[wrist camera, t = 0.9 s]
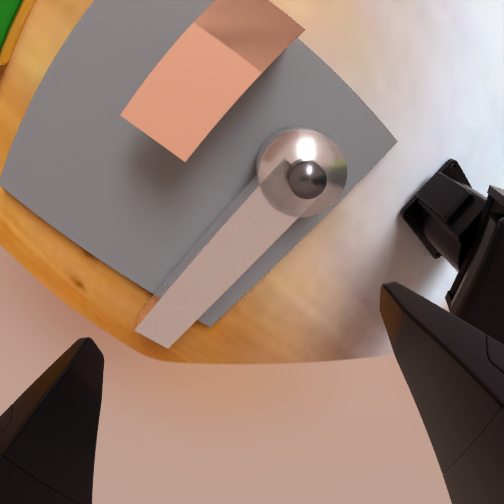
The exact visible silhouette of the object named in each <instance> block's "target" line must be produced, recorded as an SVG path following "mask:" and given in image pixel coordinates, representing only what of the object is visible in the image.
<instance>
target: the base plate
mask: <svg viewBox="0 0 504 504" xmlns="http://www.w3.org/2000/svg"><path fill="white" fill-rule="evenodd" d="M214 1H215V0H94V2H93V3H92V4H91V5H90V7H89V8H88V9H87V11H86V12H85V13H84V15H83V16H82V17H81V19H80V20H79V22H78V23H77V24H76V26H75V27H74V29H73V30H72V32H71V33H70V35H69V36H68V38H67V39H66V41H65V42H64V44H63V45H62V47H61V48H60V50H59V52H58V53H57V55H56V56H55V58H54V60H53V61H52V63H51V65H50V67H49V68H48V70H47V72H46V74H45V75H44V77H43V79H42V81H41V83H40V85H39V87H38V88H37V90H36V92H35V94H34V96H33V98H32V100H31V102H30V104H29V107H28V109H27V111H26V113H25V115H24V117H23V120H22V122H21V124H20V126H19V129H18V131H17V133H16V136H15V138H14V141H13V143H12V146H11V149H10V151H9V154H8V157H7V159H6V162H5V165H4V168H3V171H2V174H1V177H0V186H1V187H2V188H3V189H5V190H6V191H7V192H8V193H10V194H11V195H12V196H13V197H15V198H16V199H17V200H18V201H20V202H21V203H22V204H23V205H25V206H26V207H27V208H29V209H30V210H31V211H32V212H34V213H35V214H36V215H38V216H39V217H40V218H42V219H43V220H44V221H46V222H47V223H48V224H50V225H51V226H52V227H54V228H55V229H57V230H58V231H59V232H61V233H62V234H63V235H65V236H66V237H68V238H69V239H70V240H72V241H73V242H75V243H76V244H77V245H79V246H80V247H82V248H83V249H85V250H86V251H88V252H89V253H90V254H92V255H93V256H95V257H96V258H98V259H99V260H101V261H102V262H104V263H105V264H107V265H108V266H110V267H111V268H113V269H114V270H116V271H117V272H119V273H120V274H122V275H124V276H125V277H127V278H128V279H130V280H131V281H133V282H135V283H136V284H138V285H139V286H141V287H142V288H144V289H146V290H147V291H149V292H151V293H152V294H154V293H155V292H156V291H157V290H158V289H159V287H160V286H161V285H162V284H163V282H164V281H165V280H166V279H167V277H168V276H169V275H170V274H171V273H172V271H173V270H174V269H175V268H176V267H177V265H178V264H179V263H180V262H181V260H182V259H183V258H184V257H185V256H186V254H187V253H188V252H189V251H190V250H191V249H192V247H193V246H194V245H195V244H196V243H197V241H198V240H199V239H200V238H201V237H202V236H203V234H204V233H205V232H206V231H207V230H208V229H209V227H210V226H211V225H212V224H213V223H214V222H215V220H216V219H217V218H218V217H219V216H220V215H221V213H222V212H223V211H224V210H225V209H226V208H227V207H228V205H229V204H230V203H231V202H232V201H233V200H234V199H235V197H236V196H237V195H238V194H239V193H240V192H241V191H242V190H243V188H244V187H245V186H246V185H247V184H248V183H249V182H250V181H251V180H252V178H253V177H254V176H255V175H256V158H257V154H258V151H259V149H260V147H261V145H262V144H263V142H264V141H265V140H266V139H267V138H268V137H269V136H270V135H271V134H273V133H274V132H276V131H278V130H279V129H282V128H285V127H289V126H305V127H309V128H312V129H314V130H316V131H318V132H319V133H321V134H323V135H324V136H326V137H327V138H329V139H330V140H332V141H333V142H334V143H335V144H336V145H337V146H338V147H339V149H340V150H341V152H342V153H343V156H344V158H345V161H346V165H347V180H346V184H345V187H344V190H343V192H342V194H341V195H340V197H339V198H338V200H337V201H336V202H335V203H334V204H333V205H332V206H331V207H330V208H328V209H327V210H325V211H323V212H322V213H319V214H317V215H314V216H310V217H298V218H297V220H296V221H295V222H294V223H293V224H292V225H291V226H290V227H289V228H288V229H287V230H286V231H285V232H284V233H283V234H282V235H281V236H280V237H279V238H278V239H277V240H276V241H275V242H274V243H273V244H272V245H271V246H270V247H269V248H268V249H267V250H266V251H265V252H264V253H263V254H262V255H261V256H260V257H259V258H258V259H257V260H256V261H255V262H254V263H253V264H252V265H251V266H250V267H249V268H248V269H247V270H246V271H245V272H244V273H243V274H242V275H241V276H240V277H239V278H238V279H237V280H236V281H235V282H234V283H233V284H232V285H231V286H230V287H229V288H228V289H227V290H226V291H225V292H224V293H223V294H222V295H221V296H220V297H219V298H218V299H217V300H216V301H215V302H214V303H213V304H212V305H211V306H210V307H209V308H208V309H207V310H206V311H205V312H204V313H203V314H202V315H201V316H200V317H199V318H198V319H197V320H198V321H200V322H201V323H203V324H205V325H207V326H209V327H211V326H212V325H213V324H214V323H215V322H217V321H218V320H219V319H220V318H221V317H222V316H223V315H224V314H225V313H226V312H227V311H228V310H229V309H230V308H231V307H232V306H233V305H234V304H235V303H237V302H238V301H239V300H240V299H241V298H242V297H243V296H244V295H245V294H246V293H247V292H248V291H249V290H250V289H251V288H252V287H253V286H254V285H255V284H256V283H257V282H258V281H259V280H260V279H261V278H263V277H264V276H265V275H266V274H267V273H268V272H269V271H270V270H271V269H272V268H273V267H274V266H275V265H276V264H277V263H278V262H279V261H280V260H281V259H282V258H283V257H284V256H285V255H286V254H287V253H288V252H289V251H290V250H291V249H292V248H293V247H294V246H295V245H296V244H297V243H298V242H299V241H300V240H301V239H302V238H303V237H304V236H305V235H306V234H307V233H308V232H309V231H310V230H311V229H312V228H313V227H314V226H315V225H316V224H317V223H318V222H319V221H320V220H321V219H322V218H323V217H324V216H325V215H326V214H327V213H328V212H329V211H330V210H331V209H332V208H333V207H334V206H335V205H336V204H337V203H338V202H339V201H340V200H341V199H342V198H343V197H344V196H345V195H346V194H347V193H348V192H349V191H350V190H351V189H352V188H353V187H354V186H355V185H356V184H357V183H358V182H359V181H360V180H361V179H362V178H363V177H364V176H365V175H366V174H367V173H368V172H369V171H370V170H371V169H372V168H373V167H374V166H375V165H376V164H377V163H378V162H379V161H380V159H381V158H382V157H383V156H384V155H385V154H386V153H387V152H388V151H389V150H390V149H391V148H392V147H393V146H394V145H395V144H396V143H397V142H398V141H397V140H396V139H395V138H394V137H393V135H392V134H391V133H390V132H389V130H388V129H387V128H386V127H385V126H384V124H383V123H382V122H381V121H380V120H379V119H378V117H377V116H376V115H375V114H374V113H373V112H372V111H371V110H370V108H369V107H368V106H367V105H366V104H365V103H364V102H363V101H362V100H361V99H360V97H359V96H358V95H357V94H356V93H355V92H354V91H353V90H352V89H351V88H350V87H349V86H348V85H347V84H346V83H345V82H344V81H343V80H342V79H341V78H340V77H339V76H338V75H337V74H336V73H335V72H334V71H333V70H332V69H331V68H330V67H329V66H328V65H327V64H326V63H325V62H324V61H323V60H322V59H320V58H319V57H318V56H317V55H316V54H315V53H314V52H313V51H312V50H311V49H309V48H308V47H307V46H306V45H305V44H304V43H303V42H302V41H300V40H299V39H298V38H296V39H295V40H294V41H293V42H292V43H291V44H290V45H289V46H288V47H287V48H286V49H285V50H284V51H283V52H282V53H281V54H280V55H279V56H278V57H277V58H276V59H275V60H274V61H273V62H272V63H271V64H270V65H269V66H268V67H267V68H266V69H265V70H264V71H263V73H262V74H261V75H260V76H259V77H258V78H257V79H256V80H255V81H254V82H253V83H252V84H251V85H250V86H249V88H248V89H247V90H246V91H245V92H244V93H243V94H242V95H241V96H240V97H239V99H238V100H237V101H236V102H235V103H234V104H233V105H232V106H231V108H230V109H229V110H228V111H227V112H226V113H225V114H224V116H223V117H222V118H221V119H220V120H219V121H218V123H217V124H216V125H215V126H214V127H213V129H212V130H211V131H210V132H209V133H208V135H207V136H206V137H205V138H204V139H203V141H202V142H201V143H200V144H199V146H198V147H197V148H196V149H195V151H194V152H193V153H192V154H191V156H190V157H189V158H188V159H187V161H186V162H184V161H183V160H181V159H180V158H179V157H177V156H176V155H175V154H173V153H172V152H170V151H169V150H168V149H166V148H165V147H164V146H162V145H161V144H159V143H158V142H157V141H155V140H154V139H153V138H151V137H150V136H148V135H147V134H146V133H144V132H143V131H141V130H140V129H139V128H137V127H136V126H134V125H133V124H132V123H130V122H129V121H127V120H126V119H124V118H123V117H122V116H120V115H121V113H122V112H123V110H124V109H125V107H126V106H127V104H128V103H129V102H130V100H131V99H132V97H133V96H134V95H135V93H136V92H137V90H138V89H139V88H140V86H141V85H142V84H143V82H144V81H145V80H146V78H147V77H148V76H149V74H150V73H151V72H152V70H153V69H154V68H155V67H156V65H157V64H158V63H159V62H160V60H161V59H162V58H163V57H164V55H165V54H166V53H167V52H168V51H169V49H170V48H171V47H172V46H173V45H174V44H175V42H176V41H177V40H178V39H179V38H180V37H181V36H182V34H183V33H184V32H185V31H186V30H187V29H188V28H189V27H190V26H191V24H192V23H193V22H194V21H195V20H196V19H197V18H198V17H199V16H200V15H201V14H202V13H203V12H204V11H205V10H206V9H207V8H208V7H209V6H210V5H211V4H212V3H213V2H214Z"/></svg>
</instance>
